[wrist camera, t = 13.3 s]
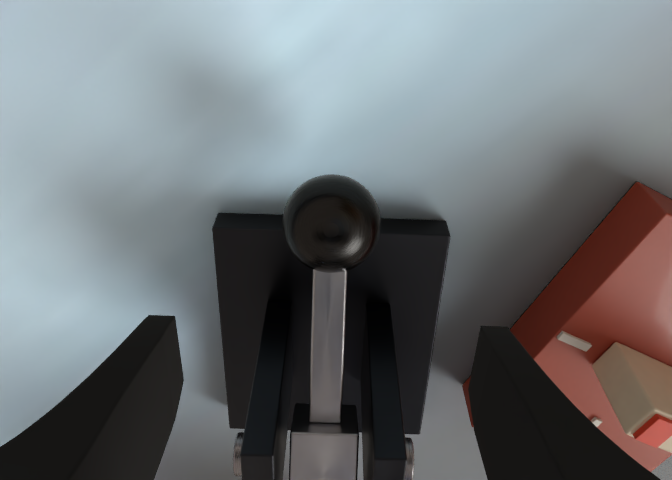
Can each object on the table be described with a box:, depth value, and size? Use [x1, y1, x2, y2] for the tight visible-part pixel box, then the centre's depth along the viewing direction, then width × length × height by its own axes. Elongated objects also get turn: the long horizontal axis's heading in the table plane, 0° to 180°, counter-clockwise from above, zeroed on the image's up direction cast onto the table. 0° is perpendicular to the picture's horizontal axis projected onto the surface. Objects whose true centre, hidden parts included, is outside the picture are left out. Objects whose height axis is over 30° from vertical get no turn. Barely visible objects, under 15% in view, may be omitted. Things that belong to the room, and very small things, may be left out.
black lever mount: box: [212, 213, 450, 480], centre depth 23 cm, size 11×9×9 cm
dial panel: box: [462, 182, 672, 472], centre depth 25 cm, size 12×9×3 cm
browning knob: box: [592, 342, 672, 453], centre depth 23 cm, size 5×2×4 cm, turn 63°
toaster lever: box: [282, 174, 381, 480], centre depth 20 cm, size 11×3×3 cm, turn 178°
